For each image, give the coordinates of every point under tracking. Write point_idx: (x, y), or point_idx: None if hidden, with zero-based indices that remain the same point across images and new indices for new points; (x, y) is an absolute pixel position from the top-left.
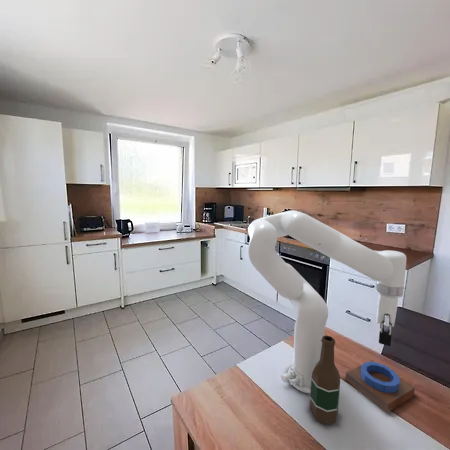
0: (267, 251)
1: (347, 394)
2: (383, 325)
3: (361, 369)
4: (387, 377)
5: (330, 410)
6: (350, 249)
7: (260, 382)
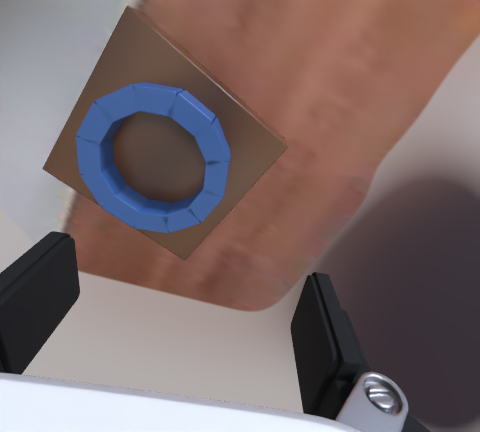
0: None
1: (57, 20)
2: (310, 318)
3: (128, 85)
4: (192, 190)
5: None
6: None
7: None
